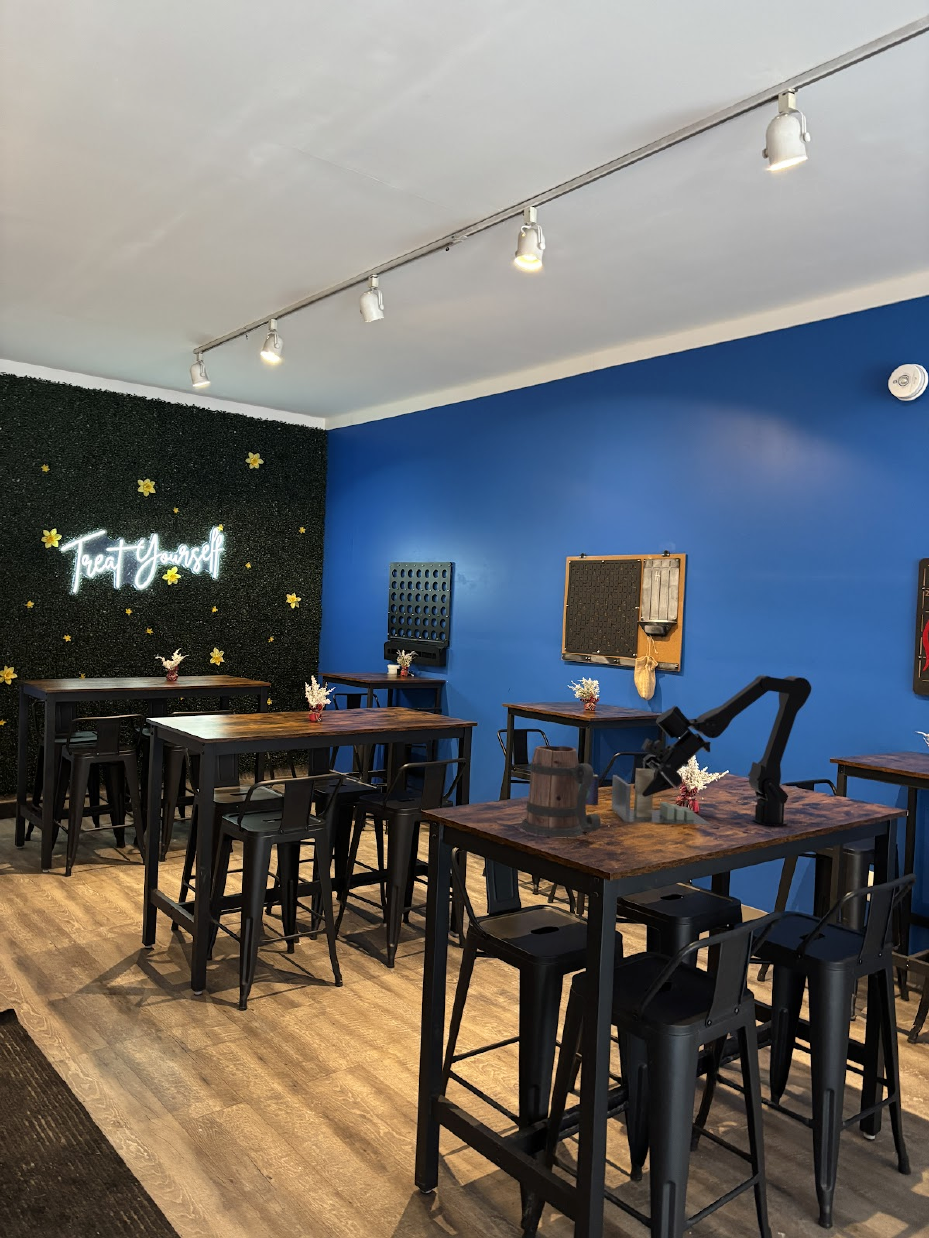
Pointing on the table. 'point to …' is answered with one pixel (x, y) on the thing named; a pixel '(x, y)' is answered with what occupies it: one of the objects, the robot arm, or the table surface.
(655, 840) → the table surface
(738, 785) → the table surface
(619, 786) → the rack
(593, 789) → the flask
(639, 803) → the birch block
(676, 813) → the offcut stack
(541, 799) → the tankard
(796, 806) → the table surface
